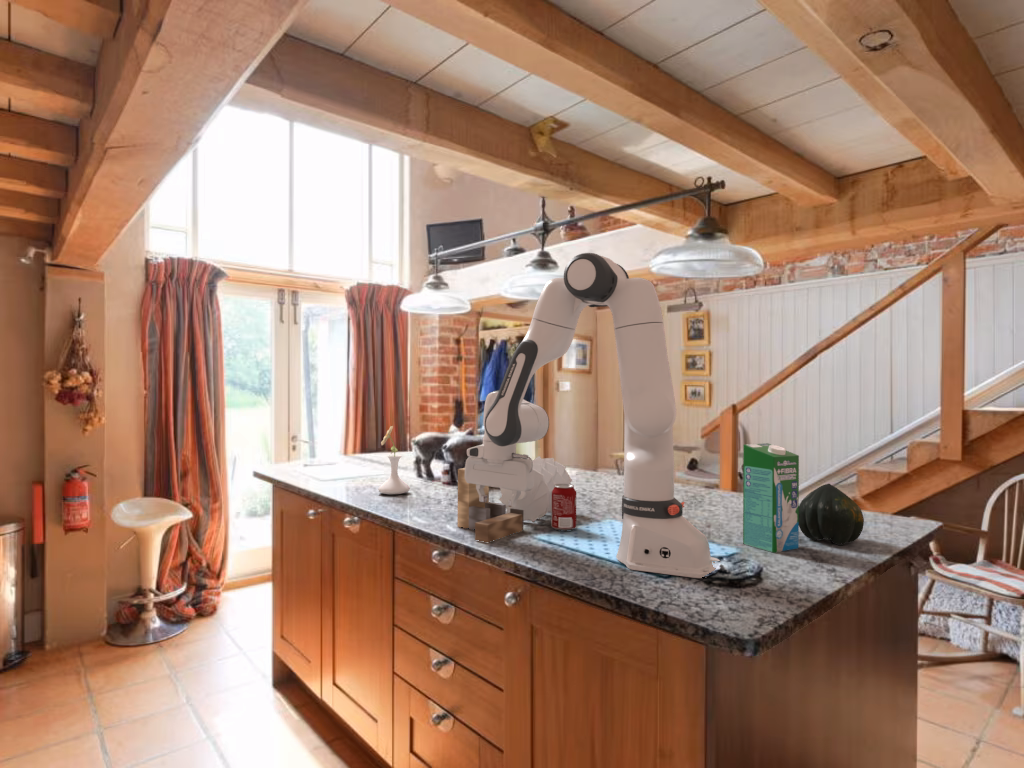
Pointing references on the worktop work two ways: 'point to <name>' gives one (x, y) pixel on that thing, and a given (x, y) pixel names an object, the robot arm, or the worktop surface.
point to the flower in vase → (393, 473)
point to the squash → (830, 516)
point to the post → (474, 504)
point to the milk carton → (770, 498)
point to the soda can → (563, 507)
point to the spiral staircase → (539, 489)
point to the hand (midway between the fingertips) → (497, 504)
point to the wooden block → (499, 526)
